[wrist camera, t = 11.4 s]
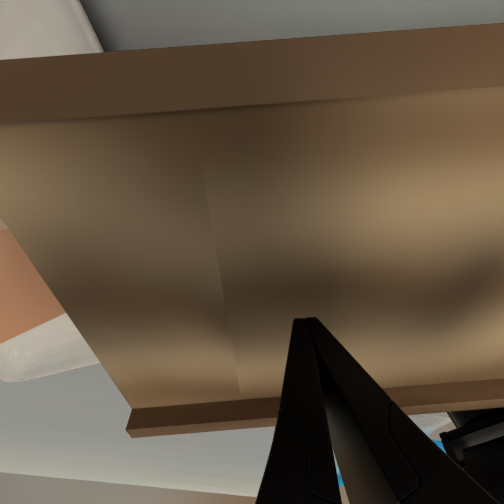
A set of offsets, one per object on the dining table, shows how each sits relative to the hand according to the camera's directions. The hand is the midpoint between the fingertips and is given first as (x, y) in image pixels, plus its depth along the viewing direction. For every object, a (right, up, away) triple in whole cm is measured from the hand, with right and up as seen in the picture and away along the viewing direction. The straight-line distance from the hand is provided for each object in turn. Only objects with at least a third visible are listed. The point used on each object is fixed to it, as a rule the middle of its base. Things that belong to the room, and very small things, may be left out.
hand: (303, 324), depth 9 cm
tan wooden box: (+2, +5, +7) cm, 9 cm away
